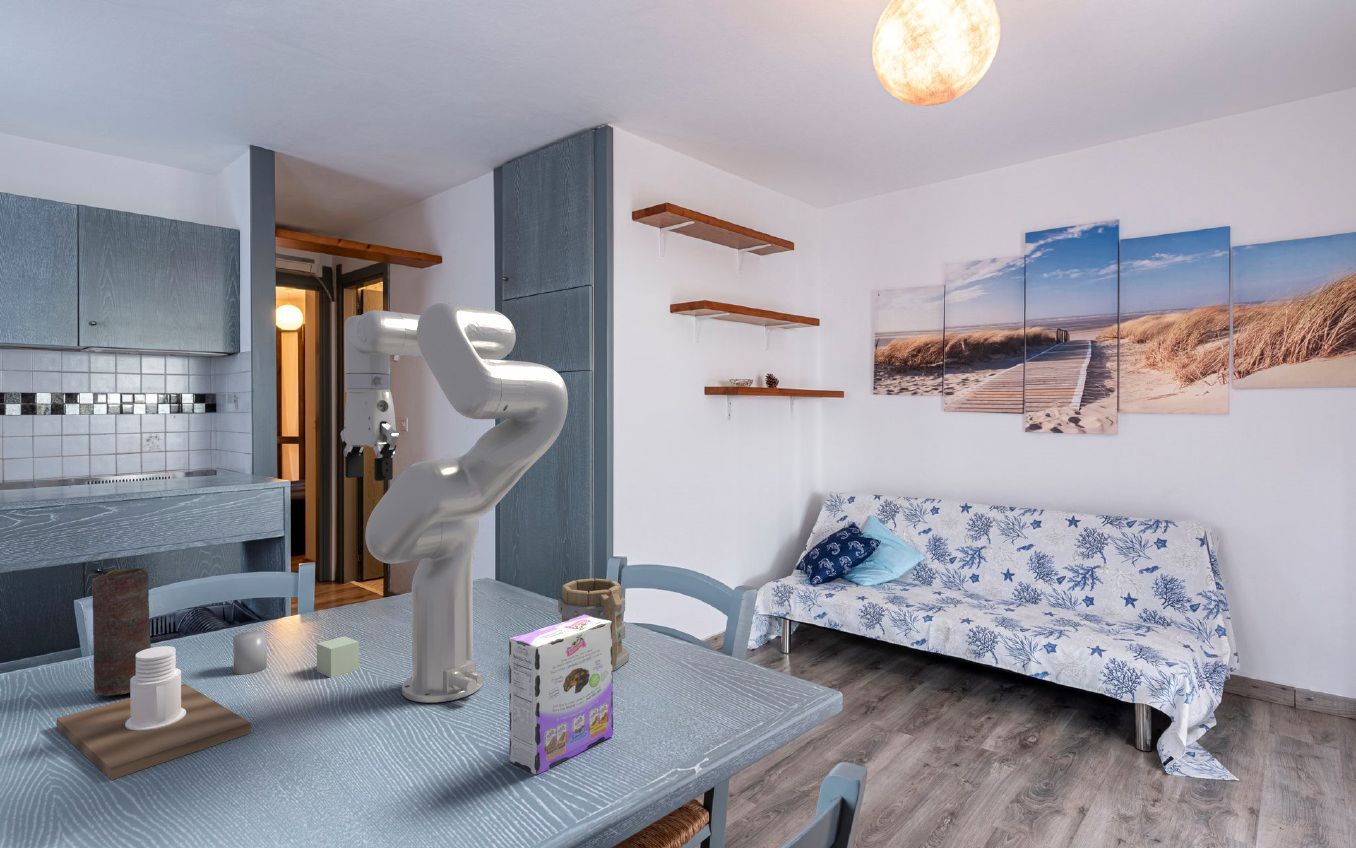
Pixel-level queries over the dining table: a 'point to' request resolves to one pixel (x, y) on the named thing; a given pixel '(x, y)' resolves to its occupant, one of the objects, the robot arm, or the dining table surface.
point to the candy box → (560, 691)
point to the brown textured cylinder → (119, 627)
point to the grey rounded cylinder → (249, 652)
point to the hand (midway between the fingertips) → (368, 478)
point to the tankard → (597, 609)
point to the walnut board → (149, 733)
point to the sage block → (337, 656)
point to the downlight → (155, 690)
